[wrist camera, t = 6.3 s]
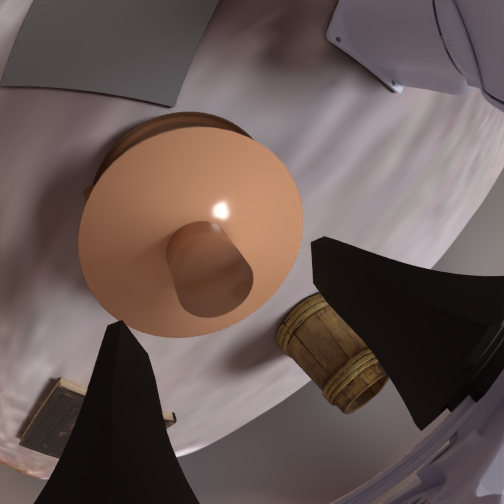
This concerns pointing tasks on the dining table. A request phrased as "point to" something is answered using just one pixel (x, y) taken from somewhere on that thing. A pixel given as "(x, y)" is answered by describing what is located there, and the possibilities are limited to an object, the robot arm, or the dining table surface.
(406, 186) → the dining table surface
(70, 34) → the coaster
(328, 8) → the dining table surface
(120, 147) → the cup and saucer
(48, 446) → the hardcover book
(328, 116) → the dining table surface
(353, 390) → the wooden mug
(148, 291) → the lid
